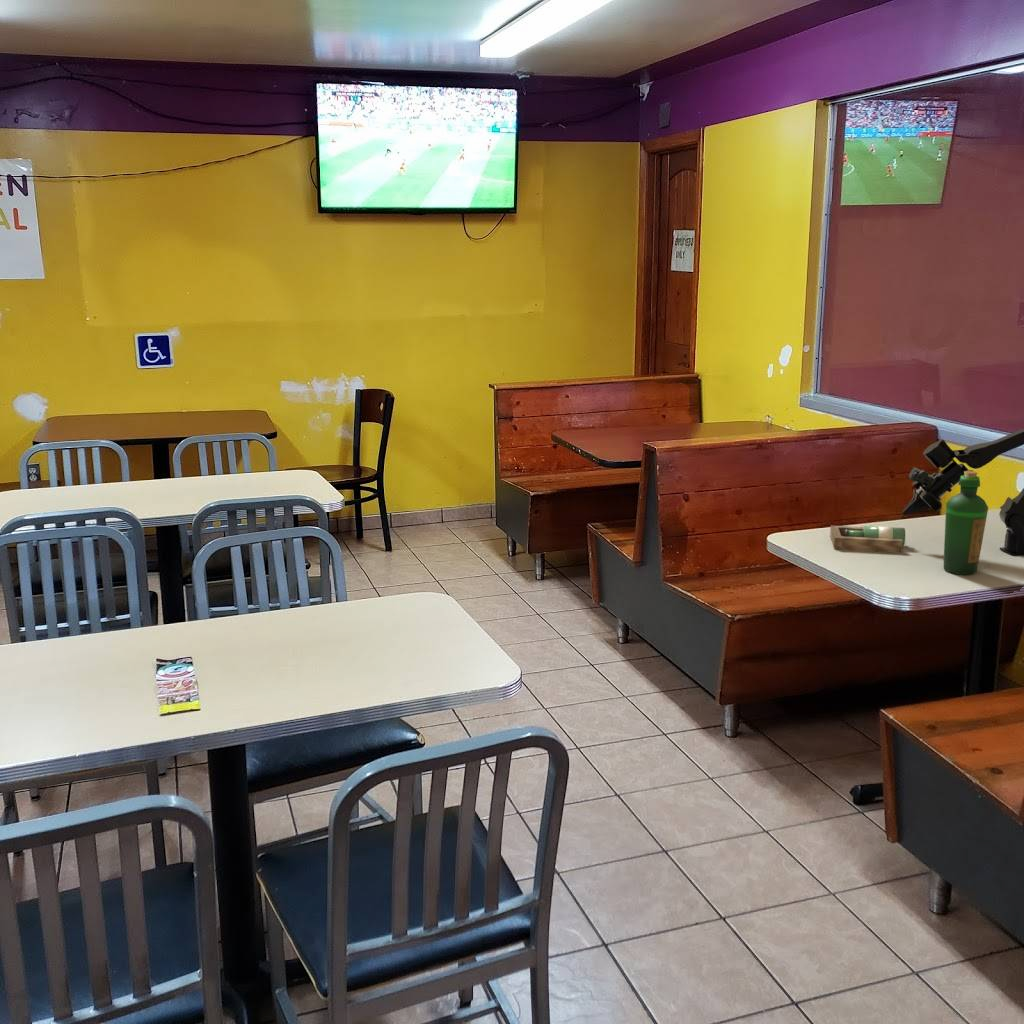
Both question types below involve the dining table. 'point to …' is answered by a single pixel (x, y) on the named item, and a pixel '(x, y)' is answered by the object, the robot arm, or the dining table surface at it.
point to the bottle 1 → (878, 533)
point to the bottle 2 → (964, 527)
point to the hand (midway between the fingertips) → (903, 513)
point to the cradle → (862, 541)
